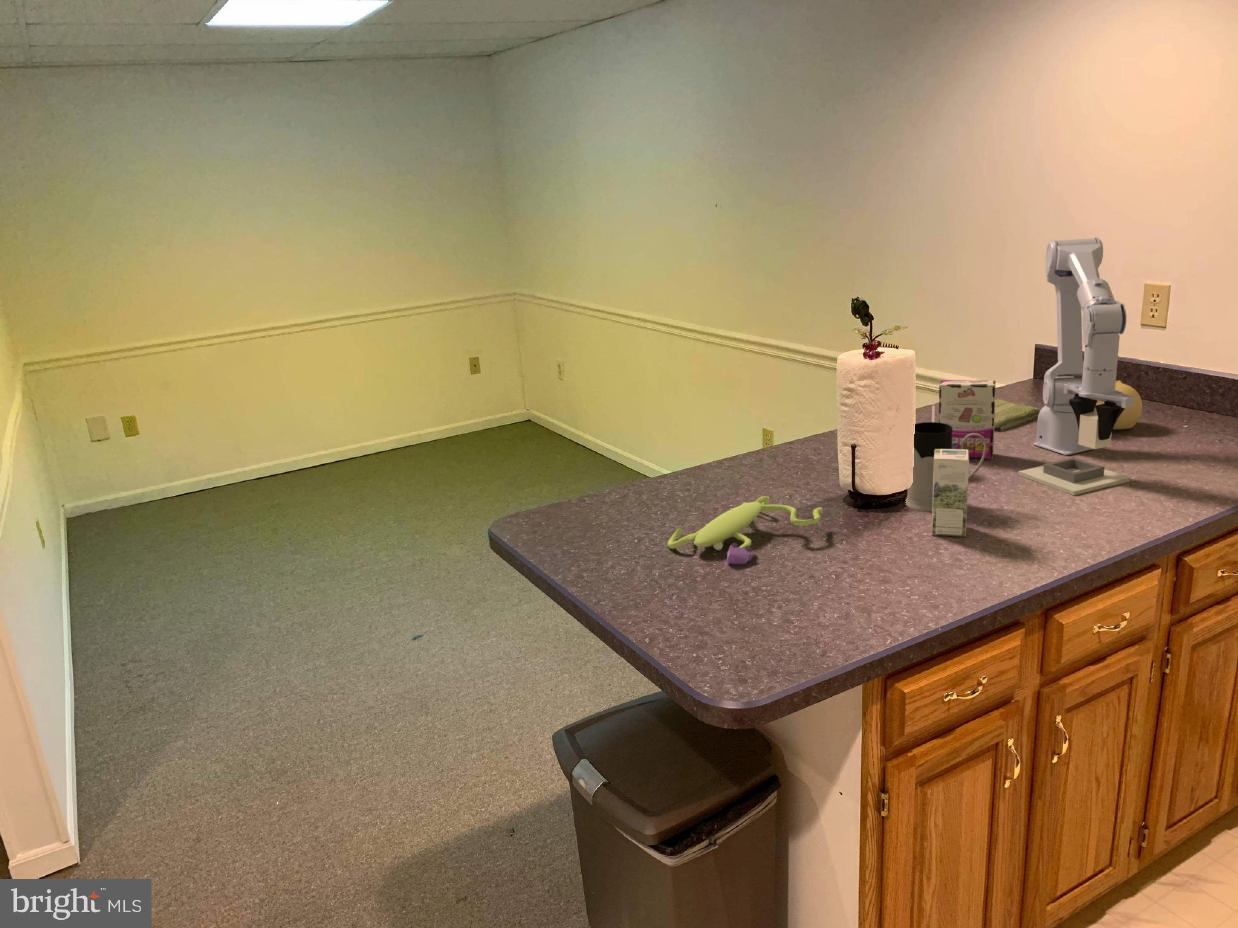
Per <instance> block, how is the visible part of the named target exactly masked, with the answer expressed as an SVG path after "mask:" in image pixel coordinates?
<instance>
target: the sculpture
mask: <svg viewBox="0 0 1238 928" xmlns="http://www.w3.org/2000/svg"><path fill="white" fill-rule="evenodd" d="M1115 390H1117V391H1119V392H1122V393H1124V394H1126V395H1129V396H1133V397H1134V406H1133V407H1130V408H1125V409H1124V411H1123V412H1122V413H1121V415H1120V416H1119V418H1118V419H1117V421H1116V423H1115V425H1114V427H1113V430H1127V429H1132V428H1133V427H1135V425H1136V424H1137V423H1138V422H1139V420H1140V417H1141V416H1142V413H1143V402H1142V398H1141V395H1140V394H1139V392H1137V390H1136V389H1135V388H1133V387H1132V386H1130V385H1129V384H1126V383H1123V382H1122V381H1121V380H1116V384H1115ZM1100 404H1104V402H1102V401H1097V403H1096V405H1100ZM1095 411H1096V408H1095V409H1094V412H1095Z"/></svg>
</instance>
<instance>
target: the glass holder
mask: <svg viewBox="0 0 1238 928" xmlns="http://www.w3.org/2000/svg"><path fill="white" fill-rule="evenodd" d="M914 424H915V434H914V467H913V483H912V485H911V487H910V489H909V490H908V489H907V496H906V499H905V501H906V502H905V501H904V504H905V503H906V504H905V506H907V507H908V508H910V509H912V510H914V511H915V510H916V511H918V512H919V511H920V512H930V513H932V506H933V473H934V453H935V449H952V426H950V425H948V424H944V423H939V422H936V421H934V422H932V421H929V422H928V421H925V422H918V423H917V422H916V423H914ZM973 435H976V436H980V437H981V438H982V439H983V441H984V452H983V456H982V459H980V461H979V463H978V464H977V466H976V467H975V469H974V470H973V471H971V473H969V476H968V480H969V479H970V478H971V477H972V476H974V475H975V474H976V473H977V472H978V471H979V469H980V468H981V466H982V464H983V463H984V460H985V459H984V458H985V455H986V447H987V446H986V440H985V439H984V437H983V436H981V435H980V434H977V433H971V434H968V435H967V436H965V437H964V438H963V440H962V442H961V449H962V450H963V444H964V442H965V440H966V439H967V438H968V437H970V436H973Z"/></svg>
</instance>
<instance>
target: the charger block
mask: <svg viewBox="0 0 1238 928" xmlns="http://www.w3.org/2000/svg"><path fill="white" fill-rule="evenodd" d="M1098 426H1099V422H1098V415H1097V411H1095V412H1091V413H1086V414H1081V415H1080V426H1079V439H1078V444H1079V445H1082V446H1086V447H1089V448H1092V450H1098V449H1102V448H1106V447H1110V446H1111V445H1112V434H1113V433H1112V432H1113V431H1112V432H1111V435H1110V438H1109V439H1106V440H1099V437H1098Z"/></svg>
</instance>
